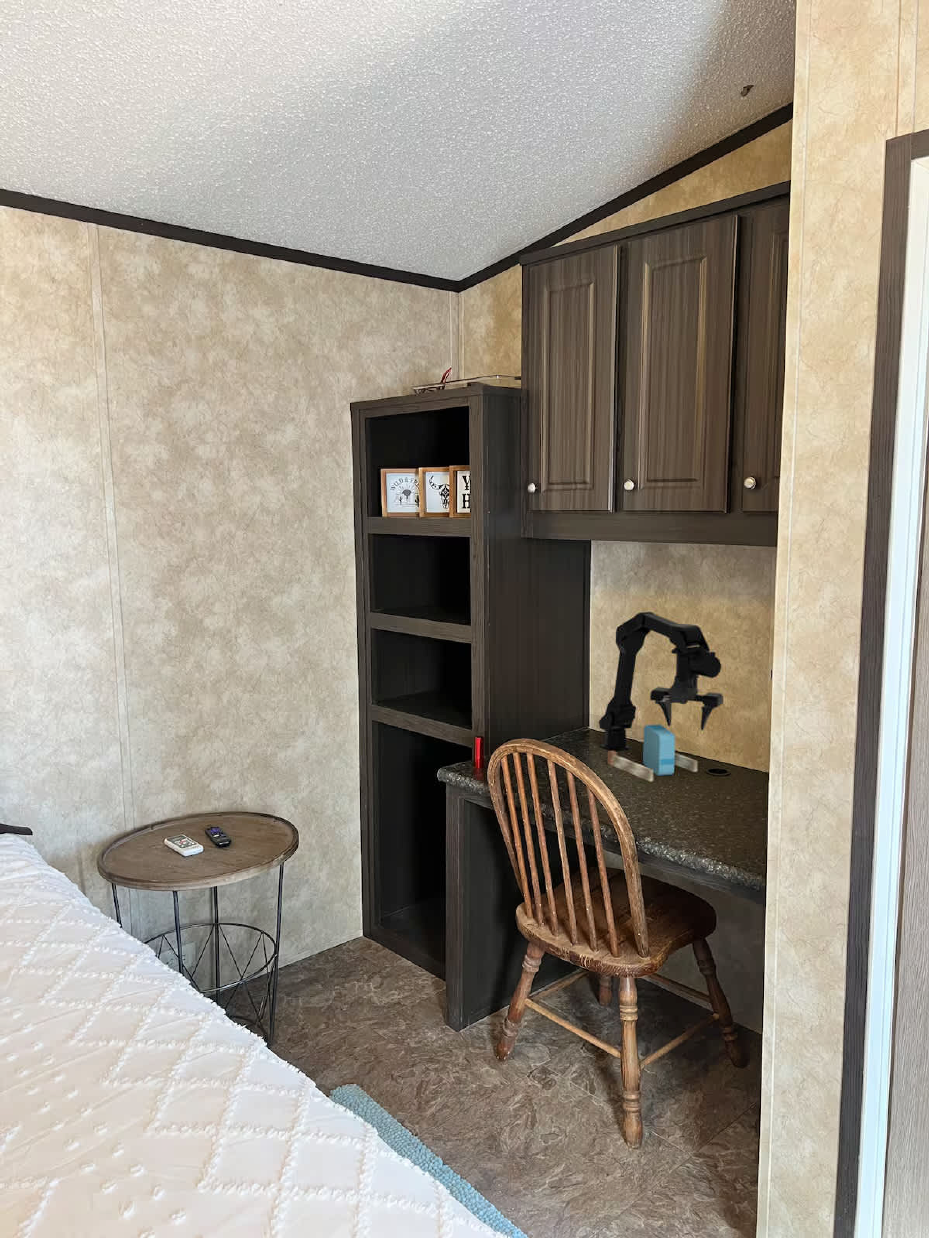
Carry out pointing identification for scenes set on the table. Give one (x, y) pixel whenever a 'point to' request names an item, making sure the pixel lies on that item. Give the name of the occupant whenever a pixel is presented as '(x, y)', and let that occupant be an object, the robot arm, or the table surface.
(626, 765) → the bay
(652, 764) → the data package
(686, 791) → the table surface
